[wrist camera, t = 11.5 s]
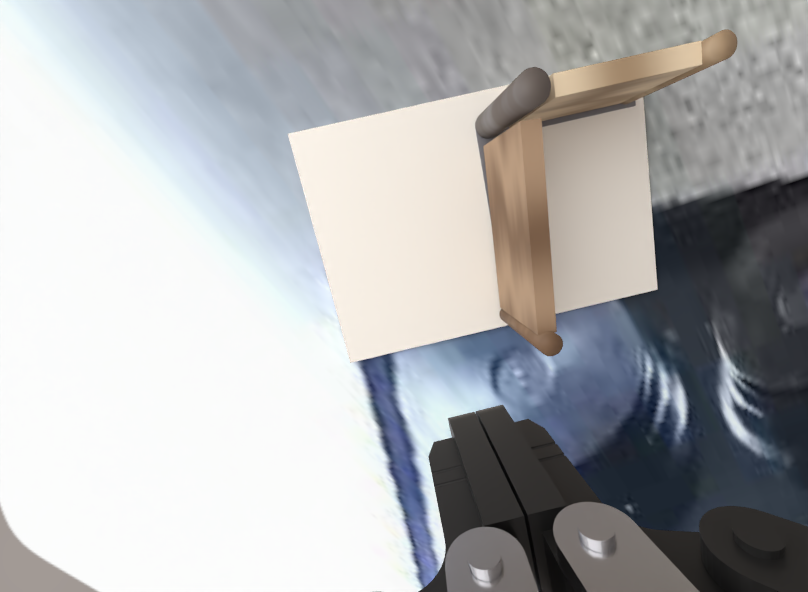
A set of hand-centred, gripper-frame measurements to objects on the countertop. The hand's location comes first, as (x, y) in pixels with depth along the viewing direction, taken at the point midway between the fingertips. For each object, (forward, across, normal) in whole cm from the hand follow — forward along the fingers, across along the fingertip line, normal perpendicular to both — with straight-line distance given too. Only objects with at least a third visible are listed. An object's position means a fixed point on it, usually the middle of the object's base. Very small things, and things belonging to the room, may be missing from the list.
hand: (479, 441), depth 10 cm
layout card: (+16, -6, -5) cm, 17 cm away
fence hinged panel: (+15, -6, -3) cm, 17 cm away
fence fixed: (+16, -11, -10) cm, 22 cm away
